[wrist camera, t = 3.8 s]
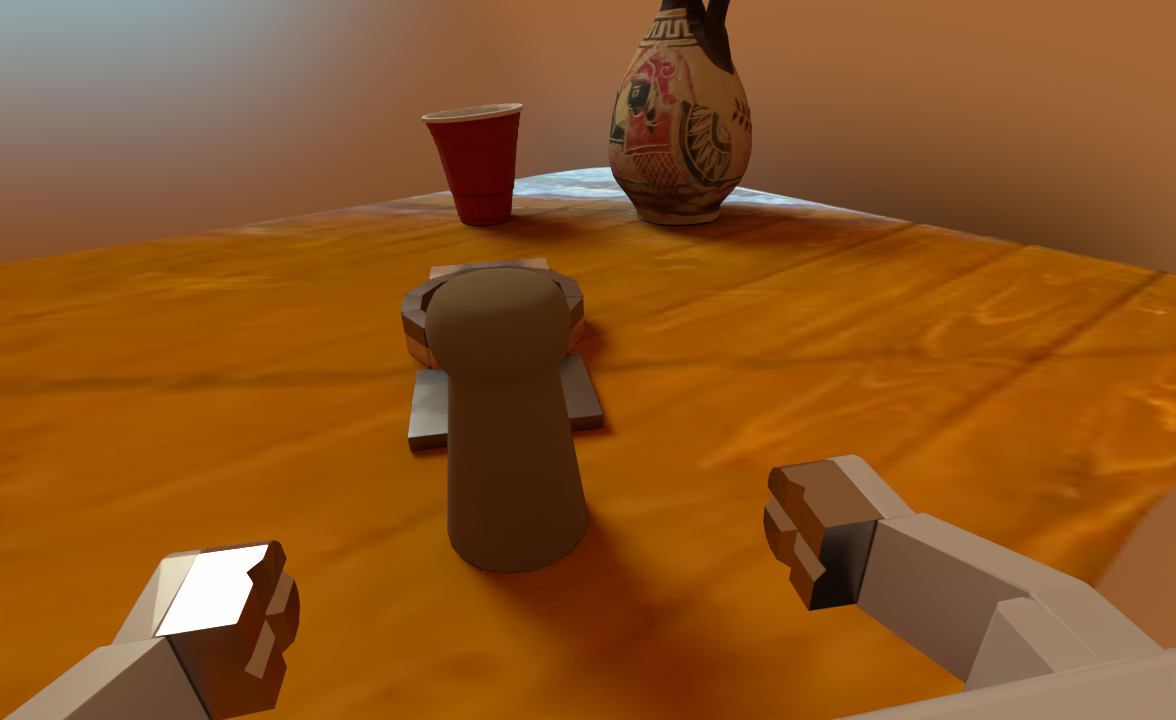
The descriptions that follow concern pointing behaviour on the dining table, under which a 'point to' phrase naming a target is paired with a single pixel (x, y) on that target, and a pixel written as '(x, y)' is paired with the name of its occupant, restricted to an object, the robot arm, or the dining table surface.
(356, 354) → the dining table surface
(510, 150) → the plastic cup
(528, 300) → the cork
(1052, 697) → the robot arm
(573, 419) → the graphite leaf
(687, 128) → the ceramic jug
